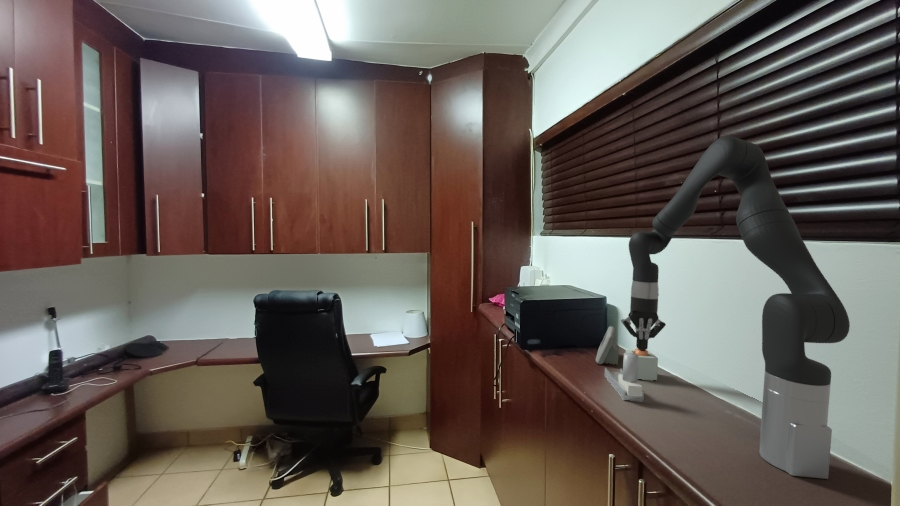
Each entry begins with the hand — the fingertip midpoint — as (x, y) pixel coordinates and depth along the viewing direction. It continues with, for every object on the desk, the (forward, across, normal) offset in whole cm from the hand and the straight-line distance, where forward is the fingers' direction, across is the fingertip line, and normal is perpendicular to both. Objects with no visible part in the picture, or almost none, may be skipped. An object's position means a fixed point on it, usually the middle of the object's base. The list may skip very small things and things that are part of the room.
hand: (641, 350), depth 115 cm
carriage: (+6, +9, +17) cm, 20 cm away
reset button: (+3, 0, 0) cm, 3 cm away
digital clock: (+8, +7, -14) cm, 18 cm away
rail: (+8, +9, +11) cm, 16 cm away
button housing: (+8, 0, 0) cm, 8 cm away
